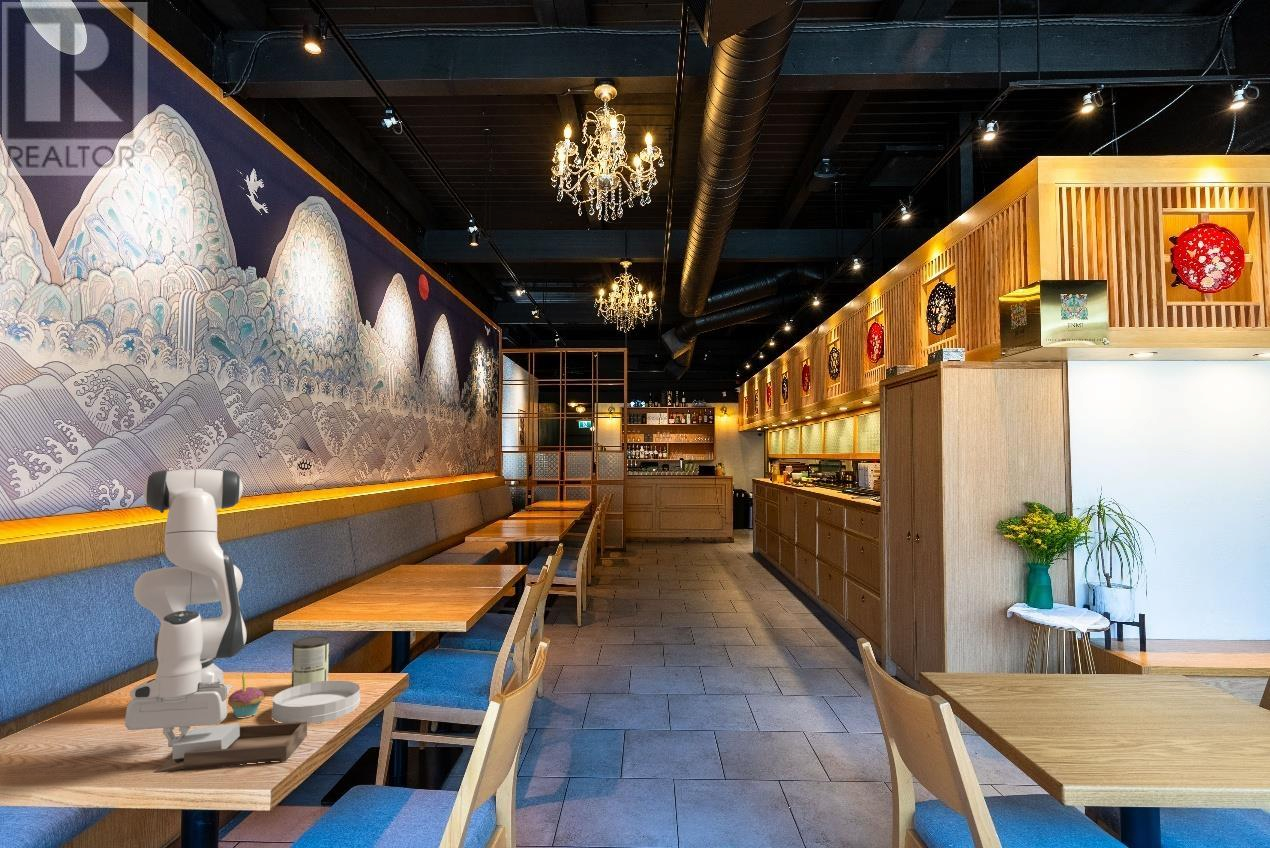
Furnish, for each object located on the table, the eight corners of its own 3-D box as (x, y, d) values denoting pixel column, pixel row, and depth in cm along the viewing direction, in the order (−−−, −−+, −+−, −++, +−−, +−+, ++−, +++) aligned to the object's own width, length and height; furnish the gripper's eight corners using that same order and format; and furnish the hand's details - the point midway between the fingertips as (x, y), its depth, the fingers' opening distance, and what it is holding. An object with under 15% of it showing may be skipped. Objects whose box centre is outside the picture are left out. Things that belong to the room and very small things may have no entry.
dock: (186, 747, 159) (187, 729, 159) (306, 738, 164) (307, 721, 164) (153, 775, 144) (154, 755, 145) (285, 764, 149) (286, 745, 149)
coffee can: (285, 688, 201) (286, 640, 202) (318, 679, 209) (320, 634, 210) (300, 695, 194) (301, 646, 195) (334, 686, 202) (335, 639, 203)
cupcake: (255, 720, 175) (257, 673, 176) (220, 722, 173) (222, 675, 174) (268, 708, 183) (269, 664, 184) (235, 710, 182) (236, 666, 183)
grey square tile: (194, 745, 157) (193, 728, 157) (239, 740, 159) (239, 723, 159) (172, 763, 147) (172, 745, 148) (221, 757, 149) (221, 739, 149)
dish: (376, 699, 191) (376, 682, 191) (327, 729, 169) (328, 709, 169) (307, 696, 194) (307, 678, 195) (251, 724, 173) (252, 704, 173)
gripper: (233, 677, 158) (231, 737, 157) (138, 682, 154) (135, 743, 153) (221, 685, 151) (218, 747, 150) (122, 691, 148) (119, 755, 147)
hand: (176, 745), depth 152 cm, fingers closed
